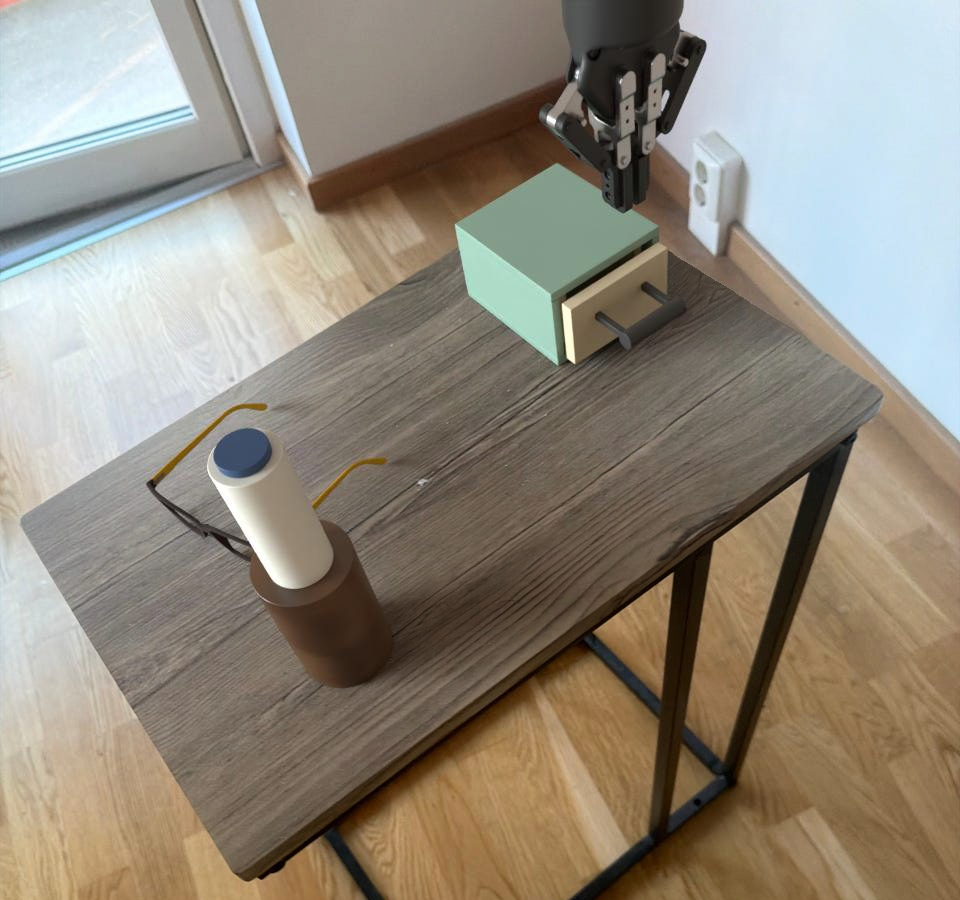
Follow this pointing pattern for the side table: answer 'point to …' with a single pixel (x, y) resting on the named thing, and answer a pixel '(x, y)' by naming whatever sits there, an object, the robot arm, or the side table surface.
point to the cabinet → (544, 251)
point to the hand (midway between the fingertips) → (626, 202)
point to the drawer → (619, 304)
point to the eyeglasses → (205, 528)
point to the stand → (330, 617)
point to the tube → (271, 506)
